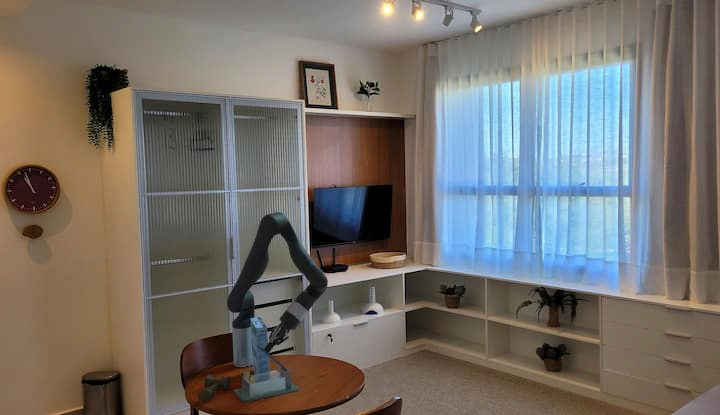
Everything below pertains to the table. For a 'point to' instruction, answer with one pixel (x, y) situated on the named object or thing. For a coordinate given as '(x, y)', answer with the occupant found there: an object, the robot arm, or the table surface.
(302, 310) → the robot arm
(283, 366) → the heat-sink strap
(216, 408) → the table surface
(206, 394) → the kendama
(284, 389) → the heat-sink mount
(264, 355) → the gum box
